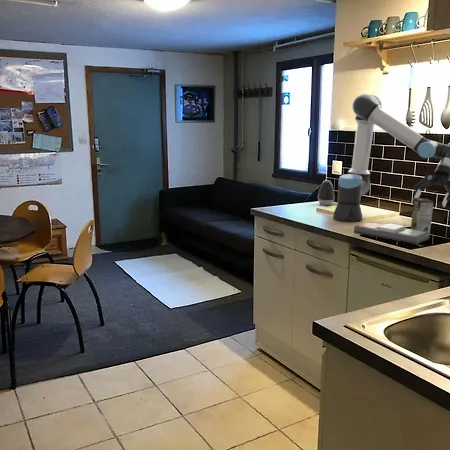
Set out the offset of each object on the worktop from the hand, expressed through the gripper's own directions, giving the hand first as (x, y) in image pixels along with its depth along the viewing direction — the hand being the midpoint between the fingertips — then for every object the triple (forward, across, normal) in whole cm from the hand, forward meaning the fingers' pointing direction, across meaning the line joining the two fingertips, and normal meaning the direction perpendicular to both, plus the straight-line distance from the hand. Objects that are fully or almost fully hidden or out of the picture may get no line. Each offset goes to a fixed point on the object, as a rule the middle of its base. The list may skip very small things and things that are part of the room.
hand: (428, 203), depth 231 cm
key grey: (+23, +7, +7) cm, 25 cm away
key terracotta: (+24, +17, +6) cm, 30 cm away
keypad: (+24, +7, +5) cm, 26 cm away
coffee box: (+13, +1, -7) cm, 15 cm away
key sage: (+23, -2, +6) cm, 24 cm away
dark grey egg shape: (-9, +74, -30) cm, 81 cm away
